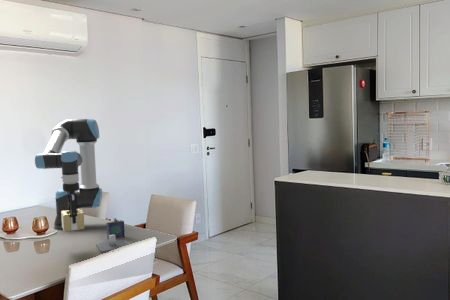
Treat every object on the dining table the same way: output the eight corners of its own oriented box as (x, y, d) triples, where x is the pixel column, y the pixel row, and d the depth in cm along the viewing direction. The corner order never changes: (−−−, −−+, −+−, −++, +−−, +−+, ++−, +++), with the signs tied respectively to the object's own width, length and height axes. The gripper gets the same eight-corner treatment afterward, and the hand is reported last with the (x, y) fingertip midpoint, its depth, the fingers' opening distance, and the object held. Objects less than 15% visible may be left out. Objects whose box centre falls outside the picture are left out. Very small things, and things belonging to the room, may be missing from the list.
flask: (107, 239, 224) (106, 219, 223) (107, 237, 227) (106, 218, 226) (124, 237, 227) (124, 218, 226) (124, 236, 230) (123, 216, 229)
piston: (96, 245, 214) (95, 233, 213) (123, 241, 220) (122, 230, 219) (101, 253, 201) (100, 241, 201) (129, 248, 207) (129, 236, 207)
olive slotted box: (62, 226, 209) (61, 211, 208) (81, 224, 213) (81, 208, 212) (63, 231, 200) (63, 215, 199) (84, 228, 205) (83, 212, 204)
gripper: (60, 179, 212) (62, 222, 215) (65, 187, 193) (67, 234, 195) (75, 178, 216) (78, 220, 218) (81, 185, 196) (84, 231, 198)
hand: (73, 226), depth 207 cm, fingers closed on olive slotted box, 9 cm apart
